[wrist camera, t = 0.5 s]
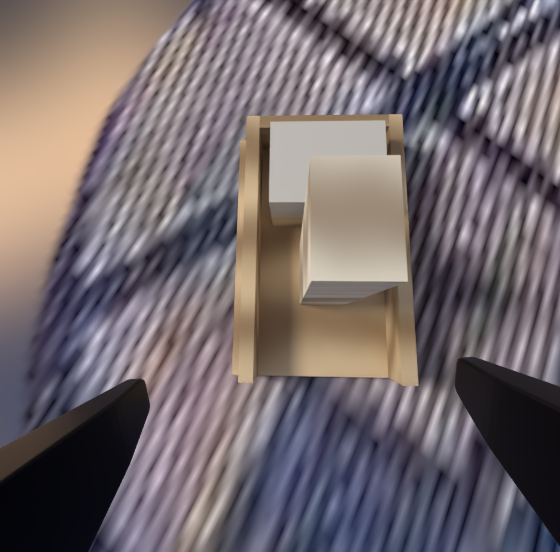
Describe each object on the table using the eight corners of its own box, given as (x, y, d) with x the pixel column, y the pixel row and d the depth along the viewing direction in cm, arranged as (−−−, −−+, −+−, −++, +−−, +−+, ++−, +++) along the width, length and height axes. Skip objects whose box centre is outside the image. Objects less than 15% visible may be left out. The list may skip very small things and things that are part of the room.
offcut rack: (409, 375, 24) (433, 386, 20) (234, 372, 24) (223, 382, 20) (396, 145, 27) (415, 114, 23) (242, 146, 27) (234, 116, 23)
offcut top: (378, 215, 22) (389, 202, 20) (271, 215, 22) (268, 202, 20) (375, 142, 23) (385, 120, 21) (272, 143, 23) (270, 121, 21)
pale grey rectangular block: (343, 305, 24) (407, 281, 11) (299, 304, 24) (311, 281, 11) (342, 244, 24) (400, 155, 12) (299, 244, 25) (310, 155, 12)
